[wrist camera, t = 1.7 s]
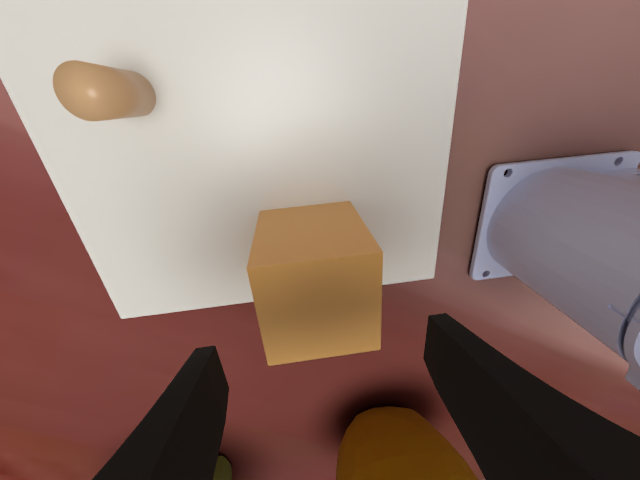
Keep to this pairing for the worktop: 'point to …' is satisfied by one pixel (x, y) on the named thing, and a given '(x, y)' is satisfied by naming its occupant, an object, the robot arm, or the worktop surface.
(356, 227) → the wooden toy cube
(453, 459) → the apple
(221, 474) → the plant pot
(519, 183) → the robot arm
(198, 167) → the plate
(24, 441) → the worktop surface
